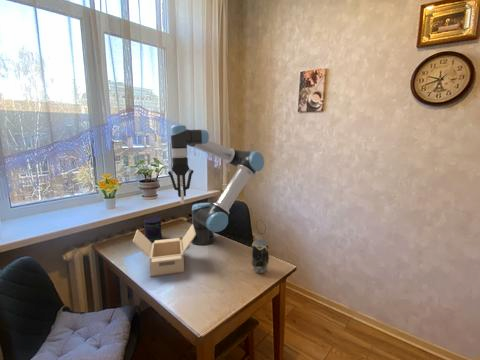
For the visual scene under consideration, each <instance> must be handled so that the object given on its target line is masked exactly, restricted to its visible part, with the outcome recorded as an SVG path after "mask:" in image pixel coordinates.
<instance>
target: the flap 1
mask: <svg viewBox="0 0 480 360" xmlns="http://www.w3.org/2000/svg"><path fill="white" fill-rule="evenodd" d="M132 243H133V244H134V245H135V246H137V248H138V249H140V251H142V252H143V254H145V255H146V256H147V257H150V253H151V247H152V244H151V242H150V241H149V240H148V239H147V238H146V237H145V234H143V233H142V232H141V231H140V230H139V229H136V232H135V234H134V236H133V239H132Z"/></svg>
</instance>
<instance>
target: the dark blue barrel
mask: <svg viewBox="0 0 480 360" xmlns="http://www.w3.org/2000/svg"><path fill="white" fill-rule="evenodd" d="M143 222H144V223H143V227H144V236H145V237H146V238H147V239H148V240H149V241H150V242H151V245H152V243H154V242H155V240H163V235H162V234H163V233H162V219H161V217H158V216H152V217H146V218H144V220H143Z"/></svg>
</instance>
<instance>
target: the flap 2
mask: <svg viewBox="0 0 480 360" xmlns="http://www.w3.org/2000/svg"><path fill="white" fill-rule="evenodd" d="M195 236H196V232H195V229H194V225H193V224H191V225H190V227H189V228H188V230H187V232H186V233H185V234H184V236H183V239H182V243H183V253H185V252H186V251H187V249H188V248H189V246H190V245H191V244H192V243H191V242H192V240H193V239H194V237H195Z"/></svg>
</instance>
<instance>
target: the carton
mask: <svg viewBox="0 0 480 360" xmlns="http://www.w3.org/2000/svg"><path fill="white" fill-rule="evenodd" d="M184 261H185V259H184V251H183V248H182V240H180V238H179V237H176V238H175V237H173V238H167V239H166V238H165V239H162V240H155V242H154V243H152V244H151V248H150V254H149V270H150V272H149V273H150V278H153V277H160V276H161V277H162V276H167V275H174V274H181V273H184V272H185V265H184V264H185V263H184Z"/></svg>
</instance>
